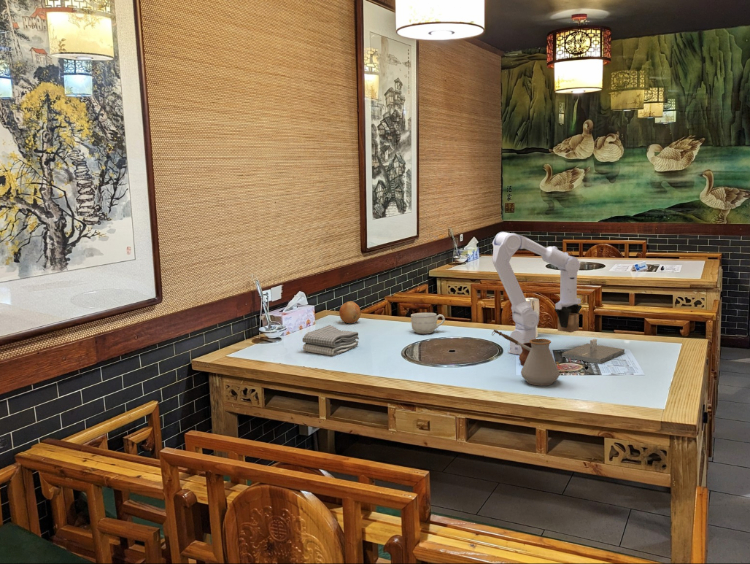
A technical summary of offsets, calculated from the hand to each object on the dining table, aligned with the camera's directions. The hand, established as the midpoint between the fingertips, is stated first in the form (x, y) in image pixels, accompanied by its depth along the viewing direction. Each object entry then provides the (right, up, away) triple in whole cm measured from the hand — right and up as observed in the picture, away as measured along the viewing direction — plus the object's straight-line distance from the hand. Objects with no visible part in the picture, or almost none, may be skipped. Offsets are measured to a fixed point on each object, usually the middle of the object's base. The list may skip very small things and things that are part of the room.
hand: (568, 325), depth 244 cm
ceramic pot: (-17, -12, -19) cm, 28 cm away
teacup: (-48, -5, +35) cm, 60 cm away
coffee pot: (-24, -15, -36) cm, 46 cm away
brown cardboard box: (0, -2, 0) cm, 2 cm away
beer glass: (-9, -6, +22) cm, 24 cm away
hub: (+6, -10, -10) cm, 15 cm away
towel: (-87, -10, +11) cm, 88 cm away
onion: (-81, -3, +59) cm, 101 cm away
